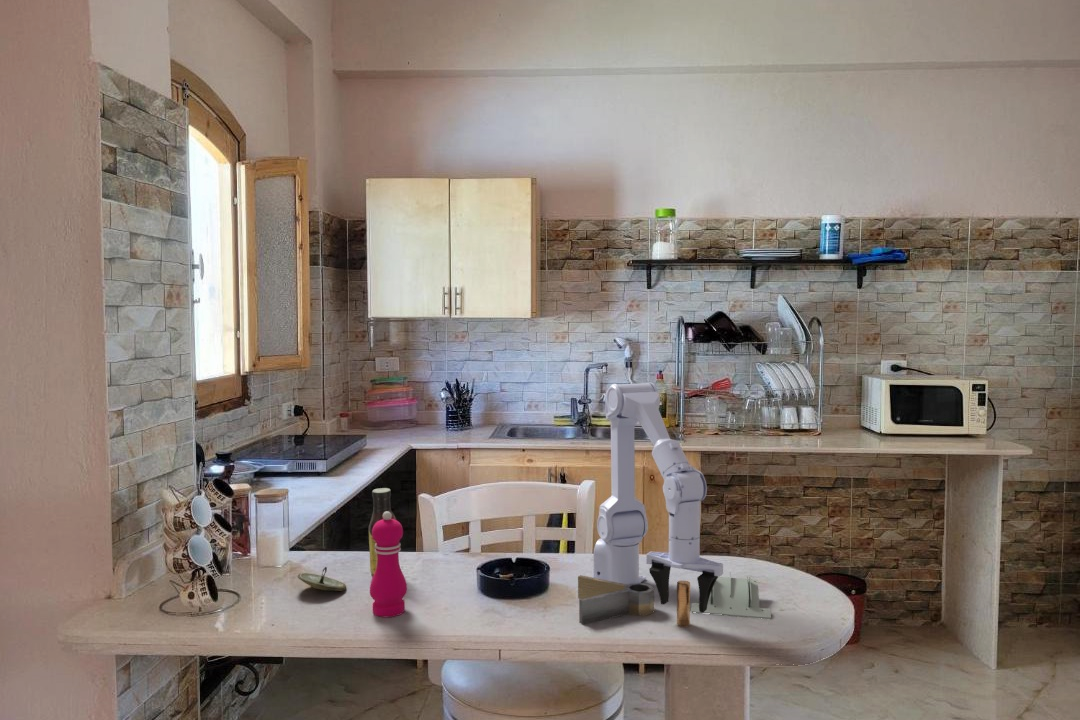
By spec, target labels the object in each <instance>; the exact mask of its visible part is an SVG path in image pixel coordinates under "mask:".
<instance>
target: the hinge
mask: <svg viewBox="0 0 1080 720" xmlns="http://www.w3.org/2000/svg"><path fill="white" fill-rule="evenodd" d="M577 598H578V602H579V603H578V606H579V608H578V610H579V613H578V615H579V619H578V621H579V624H581V625H586V624H589V623H593V622H598V621H603V620H607V619H611V618H617V617H620V616H625V615H633V616H638V617H640V616H641V617H642V616H649V615H651V614H652V613H654V612H655V588H654V586H652V585H651V584H648V583H642V582H641V583H632V584H628V585H627V584H622V583H617V582H612V581H607V580H602V579H597V578H594V577H591V576H586V575H581V574H580V575H578V577H577ZM653 611H654V612H653Z"/></svg>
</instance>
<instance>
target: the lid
mask: <svg viewBox="0 0 1080 720" xmlns="http://www.w3.org/2000/svg"><path fill="white" fill-rule="evenodd" d="M327 568H328V567H327V566H324V567H323V569H322V574H321V575H319V574H315V573H308V572H302V573H298V574H297V579H298V580H300V581H301V582H303V583H304V584H306V585H308V586H310V587H311V588H314V589H316V590H322V591H325V592H326V591H329V592H333V591H338V592H339V591H340V592H341V591H346V589H347V585H346V583H344V582H342V581H339V580H336V579H333V578H331V577H328V576H325V574H326V573H327Z"/></svg>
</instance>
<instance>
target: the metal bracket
mask: <svg viewBox="0 0 1080 720" xmlns="http://www.w3.org/2000/svg"><path fill="white" fill-rule="evenodd" d="M731 575H732V572H729V577H726V576H725V577H724V576H720V577H718V578H717V580H716V582H715V584H714V586H713V588H712V591H711V594H710V597H709V600H708V605H707V610H705V611H704V612H700V611H699V602H692V603H691V609H690V613H691V612H692V613H691V614H694V613H693V612H696V613H710V614H709V615H711V614H722V615H721V616H724V615H728V617H737V616H739V617H740V618H749V617H752V618H751V619H755V618H757V620H767V619H769V620H772V616H771V614H772V612H771V609H770V608H763V607H760V595H759V593H760V591H759V581H758V579H755V578H754V579H753V578H751V575H748V574H747V575H746V578H739V577H732V576H731ZM729 615H731V616H729ZM758 618H760V619H758ZM761 618H762V619H761Z"/></svg>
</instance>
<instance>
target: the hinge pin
mask: <svg viewBox="0 0 1080 720" xmlns="http://www.w3.org/2000/svg"><path fill="white" fill-rule="evenodd" d="M676 582H677V583H676V625H677V624H678V625H679V627H681V628H682V627H683V628H686V626H687V627H690V626H691V582H690V581H689V580H678V581H676ZM678 625H677V626H678Z"/></svg>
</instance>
